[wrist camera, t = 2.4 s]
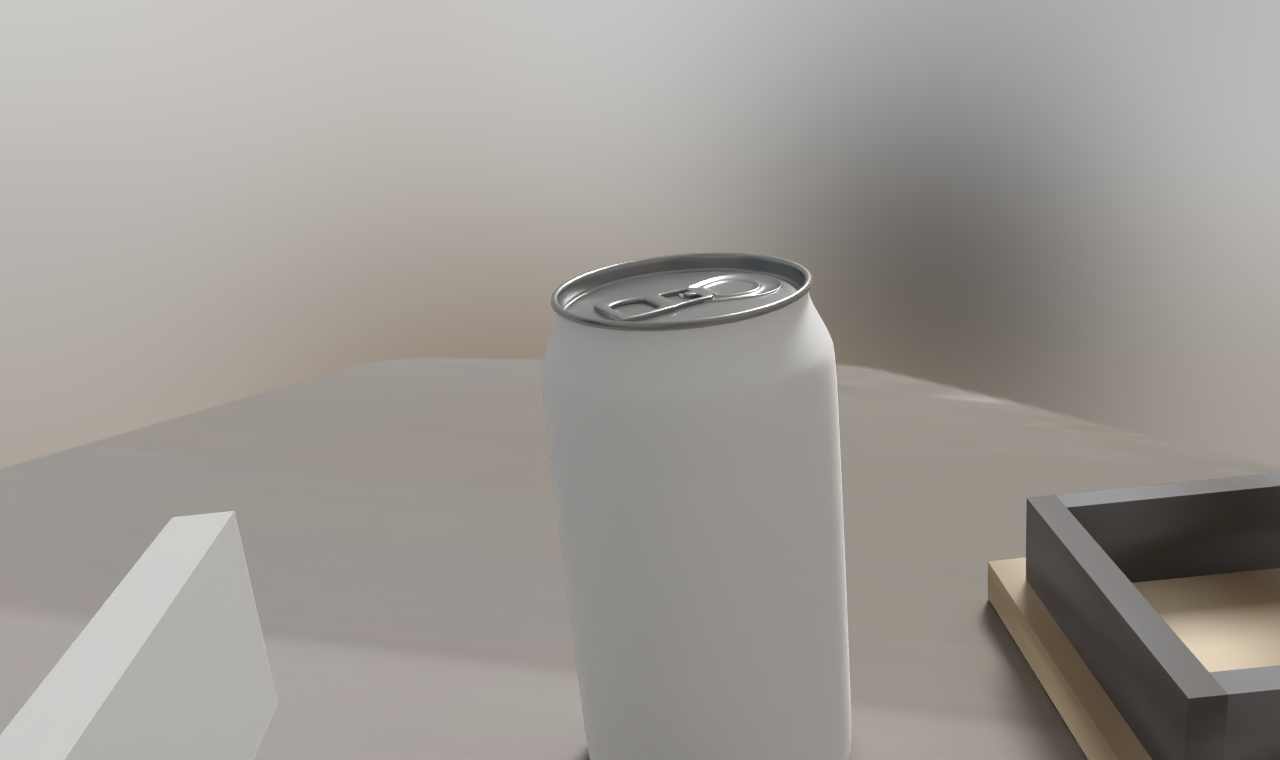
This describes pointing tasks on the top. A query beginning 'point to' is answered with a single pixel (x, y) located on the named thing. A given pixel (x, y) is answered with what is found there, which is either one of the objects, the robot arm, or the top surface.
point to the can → (701, 509)
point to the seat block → (1154, 616)
